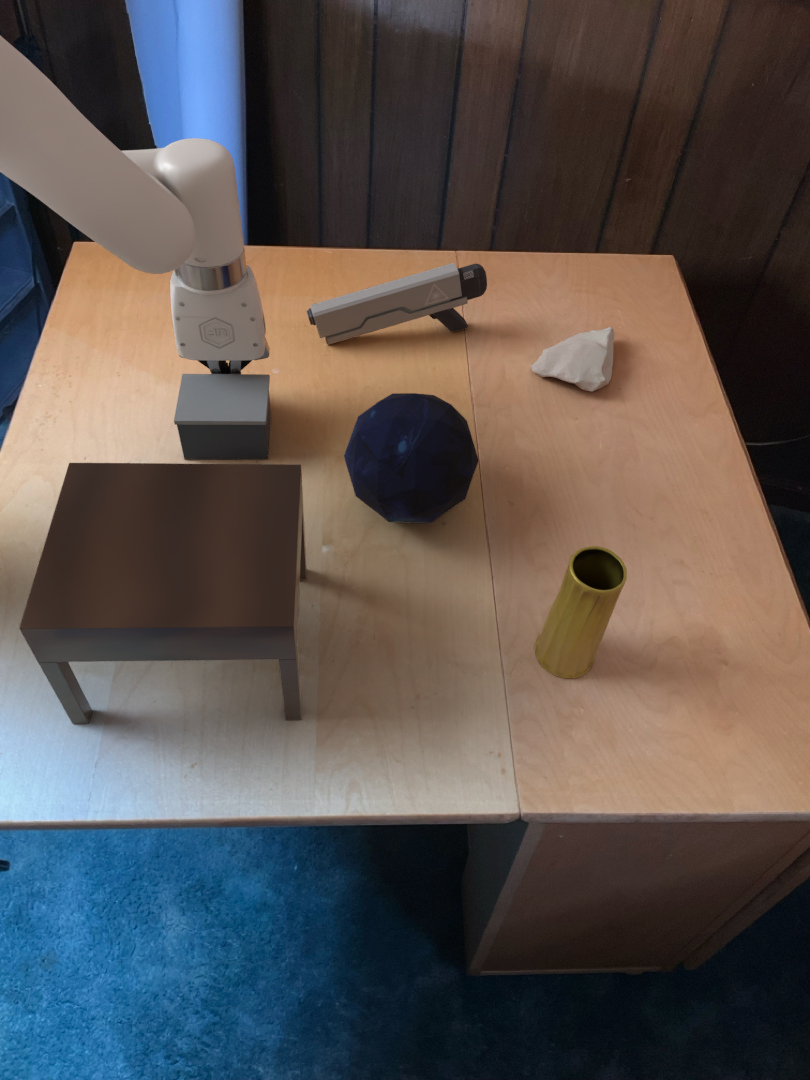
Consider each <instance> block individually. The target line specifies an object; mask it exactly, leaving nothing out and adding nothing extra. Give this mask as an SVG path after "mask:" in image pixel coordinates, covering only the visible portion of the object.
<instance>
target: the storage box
mask: <svg viewBox="0 0 810 1080" xmlns="http://www.w3.org/2000/svg"><path fill="white" fill-rule="evenodd" d="M270 380H271V377H270V374H268V373H267V374H264V373H263V374H261V373H260V374H259V373H258V374H255V373H254V374H252V373H250V374H248V373H247V374H245V373H241V374H212V373H182V374H181V379H180V384H179V389H178V396H177V401H176V406H175V413H174V418H173V422H174V425H176V427H177V431H178V436H179V442H180V446H181V450H182V451H181V452H182V456H183V460H269V457H270V456H269V455H270V441H271V427H272V426H271V425H272V408H271V407H272V406H271V396H270V382H271V381H270Z"/></svg>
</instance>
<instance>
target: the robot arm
mask: <svg viewBox="0 0 810 1080" xmlns="http://www.w3.org/2000/svg"><path fill="white" fill-rule="evenodd" d="M0 173H1V174H2V175H4V177H7V178H8V179H9V180H11V181H12V182H13V183H15V184H17V185H18V186H19V187H21V188H22V189H24V190H25V191H26V192H28V193H29V194H31V195H32V196H34V197H35V198H36V199H37V200H39V201H40V202H42V203H43V205H45V206H47V207H48V208H49V209H51V211H53V212H54V213H55V214H57V215H58V216H60V217H61V218H62V219H64V220H65V221H66V222H67V223H69V224H70V225H72V227H74V228H76V229H77V230H78V231H79V232H81V233H82V234H84V235H85V236H86V237H87V238H89V239H91V240H92V241H93V242H95V243H96V244H97V245H99V246H101V247H102V248H103V249H105V250H106V251H108V252H109V253H110V254H112V255H113V256H114V257H116V258H118V259H119V260H121V262H123V263H125V264H126V265H128V266H130V267H131V268H132V269H134V270H137V271H139V272H143V273H145V274H150V275H162V274H166V273H171V272H172V274H171V276H170V281H169V294H170V295H169V296H170V308H171V311H170V312H171V319H172V320H171V321H172V326H173V335H174V340H175V347H176V350H177V353H178V356H179V357H180V358H182V359H184V360H189V361H190V360H191V361H197V362H198V363H199V364H201V365H203V366H204V367H206V368H207V369H209V371H210V374H242V371H243V369H244V368H246V367H247V366H248V365H249V364H250V363H252V361H259V360H265V359H268V358H269V357H270V352H271V351H270V350H271V348H270V345H269V343H268V341H267V337H266V333H267V332H266V330H267V329H266V320H265V314H264V308H263V302H262V298H261V294H260V290H259V286H258V283H257V279H256V277H255V274H254V271H253V269H252V268H251V266H250V265H248V264H247V259H246V258H247V257H246V252H245V251H246V249H245V243H244V242H245V241H244V234H243V224H242V217H241V209H240V208H241V207H240V200H239V191H238V182H237V181H238V180H237V172H236V167H235V161H234V159H233V156H232V154H231V153H230V151H229V150H228V148H226V147H225V146H224V145H222V144H221V143H219V142H218V141H215V140H213V139H208V138H200V137H199V138H198V137H193V138H192V137H190V138H183V139H179V140H175V141H173V142H171V143H169V144H167V145H166V146H164V147H158V148H148V149H147V148H145V149H132V150H131V149H128V150H127V149H126V150H121V149H119V148H118V147H117V146H116V145H115V144H114V143H113V142H112V141H111V140H110V139H109V138H108V137H106V135H104V134H103V133H102V132H101V131H100V130H99V129H98V128H97V127H95V125H94V124H93V123H92V122H91V121H90V120H89V119H88V118H87V117H86V116H84V114H83V113H81V112H80V110H79V109H78V108H77V107H76V106H75V105H74V104H73V103H72V101H70V99H68V97H66V95H65V94H64V93H63V92H62V90H60V89H59V88H58V86H57V85H55V83H53V82H52V80H51V79H50V78H48V77H47V75H46V74H44V73H43V72H42V71H41V70H40V69H39V68H38V67H37V66H36V65H35V64H34V63H33V62H31V60H30V59H28V58H27V57H26V56H25V55H24V54H23V53H21V52H20V50H18V49H17V48H15V47H14V46H13V45H12V44H11V43H10V42H9V41H7V39H5V38H4V37H3V36H2V35H0ZM227 361H229V362H227Z"/></svg>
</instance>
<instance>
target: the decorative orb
mask: <svg viewBox="0 0 810 1080" xmlns="http://www.w3.org/2000/svg"><path fill="white" fill-rule="evenodd" d="M343 458H344V463H345V465H346V468H347V472H348V475H349V479H350V482H351V485H352V489H353V491H354V492H353V493H354V496H355V498H357V499H359V500H360V501H361V502H362V503H363V504H365V505H366V506H367V507H369V508H370V509H372V510H373V511H374V512H375V513H376V514H378V515H379V516H381V517H382V518H383V519H385V520H386V521H387V522H388V523H413V524H415V523H416V524H432V523H434V522H435V521H437V520H438V519H439V518H441V517H442V516H443V515H445V514H447V513H448V512H449V511H451V510H453V509H454V508H455V507H456V506H458V505H459V504H462V502H464V501H465V500H466V498H467V496H468V493H469V490H470V487H471V484H472V481H473V478H474V475H475V473H476V470H477V467H478V464H479V462H480V460H479V456H478V453H477V449H476V447H475V442H474V439H473V436H472V432H471V429H470V426H469V423H468V420H467V418H465V417H464V416H463V415H462V414H461V413H460V412H459V411H458V410H457V409H456V408H455V407H454V405H452V403H449V402H448V401H446V400H444V399H442V398H440V397H438V396H436V395H435V394H426V393H418V392H417V393H416V392H414V393H413V392H411V393H409V392H406V393H399V392H398V393H395V392H394V393H391V394H389V395H387V396H386V397H384V398H382V399H381V400H378V401H377V402H376V403H374V404H373V405H372V406H370V407H369V408H368V409H366V410H365V411H363V412H362V413H361V414H359V415H358V416H357V418H356V421H355V423H354V427H353V428H352V431H351V434H350V437H349V440H348V443H347V446H346V449H345V451H344V454H343Z"/></svg>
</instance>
